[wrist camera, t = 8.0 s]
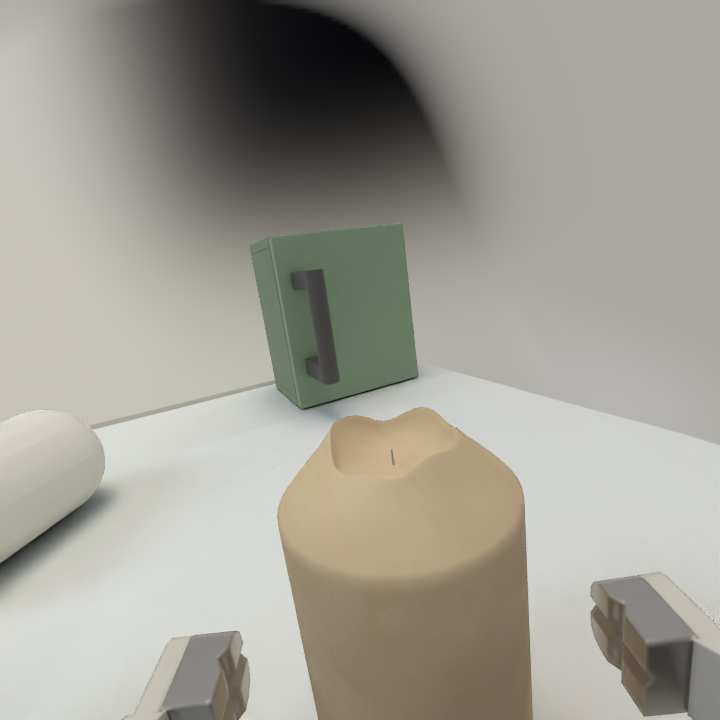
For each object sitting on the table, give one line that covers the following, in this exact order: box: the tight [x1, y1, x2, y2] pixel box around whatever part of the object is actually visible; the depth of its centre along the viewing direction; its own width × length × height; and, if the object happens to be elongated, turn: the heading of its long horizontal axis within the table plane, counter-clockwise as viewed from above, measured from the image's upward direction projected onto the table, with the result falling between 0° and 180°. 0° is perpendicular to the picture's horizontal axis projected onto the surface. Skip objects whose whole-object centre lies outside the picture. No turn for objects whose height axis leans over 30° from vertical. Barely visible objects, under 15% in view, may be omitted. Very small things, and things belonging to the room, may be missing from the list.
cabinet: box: [250, 224, 392, 407], centre depth 46 cm, size 9×14×17 cm, turn 116°
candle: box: [277, 407, 533, 720], centre depth 10 cm, size 6×6×10 cm
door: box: [268, 223, 418, 409], centre depth 39 cm, size 6×14×17 cm, turn 116°
